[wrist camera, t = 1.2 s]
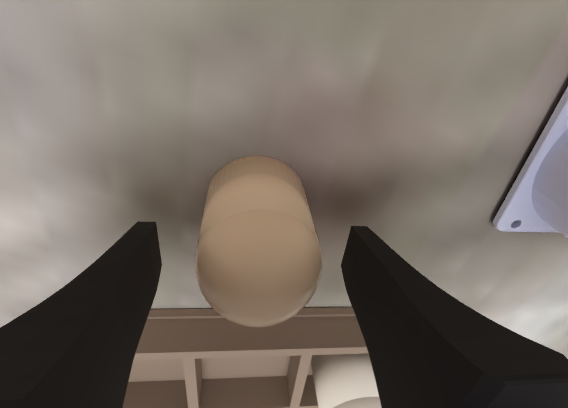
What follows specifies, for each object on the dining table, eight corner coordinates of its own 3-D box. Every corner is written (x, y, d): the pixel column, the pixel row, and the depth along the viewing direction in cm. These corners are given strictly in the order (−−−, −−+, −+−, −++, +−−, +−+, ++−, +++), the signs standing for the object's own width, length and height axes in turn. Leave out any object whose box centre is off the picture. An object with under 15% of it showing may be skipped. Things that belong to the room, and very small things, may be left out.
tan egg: (310, 158, 14) (348, 258, 9) (298, 238, 16) (321, 353, 11) (205, 153, 13) (180, 256, 8) (208, 236, 16) (189, 357, 11)
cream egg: (384, 328, 20) (430, 443, 15) (367, 367, 23) (402, 479, 18) (314, 329, 20) (339, 450, 15) (305, 370, 22) (322, 486, 17)
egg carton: (408, 306, 20) (427, 343, 18) (378, 371, 24) (391, 407, 22) (65, 310, 18) (41, 353, 15) (94, 382, 21) (78, 424, 19)
